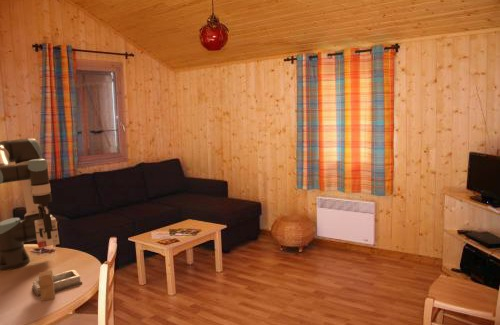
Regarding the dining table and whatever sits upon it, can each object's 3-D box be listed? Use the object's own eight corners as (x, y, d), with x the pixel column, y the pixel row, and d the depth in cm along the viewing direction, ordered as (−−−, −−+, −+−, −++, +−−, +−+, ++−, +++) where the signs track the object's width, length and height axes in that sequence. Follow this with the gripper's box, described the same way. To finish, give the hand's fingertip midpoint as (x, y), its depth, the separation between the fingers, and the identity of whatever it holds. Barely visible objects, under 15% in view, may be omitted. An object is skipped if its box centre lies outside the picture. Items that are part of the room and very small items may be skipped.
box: (41, 301, 170) (37, 276, 168) (41, 297, 173) (38, 272, 172) (55, 298, 172) (51, 273, 170) (55, 294, 176) (52, 269, 174)
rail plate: (32, 287, 183) (31, 280, 183) (74, 275, 194) (73, 268, 194) (38, 297, 174) (36, 289, 173) (82, 283, 185) (81, 276, 184)
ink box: (39, 248, 182) (35, 222, 181) (37, 245, 186) (33, 220, 185) (59, 243, 187) (56, 218, 185) (58, 241, 191) (54, 216, 190)
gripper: (28, 192, 189) (35, 242, 192) (36, 198, 174) (43, 251, 177) (46, 190, 193) (53, 238, 196) (55, 194, 179) (62, 246, 182)
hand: (48, 244), depth 187 cm, fingers closed on ink box, 5 cm apart
